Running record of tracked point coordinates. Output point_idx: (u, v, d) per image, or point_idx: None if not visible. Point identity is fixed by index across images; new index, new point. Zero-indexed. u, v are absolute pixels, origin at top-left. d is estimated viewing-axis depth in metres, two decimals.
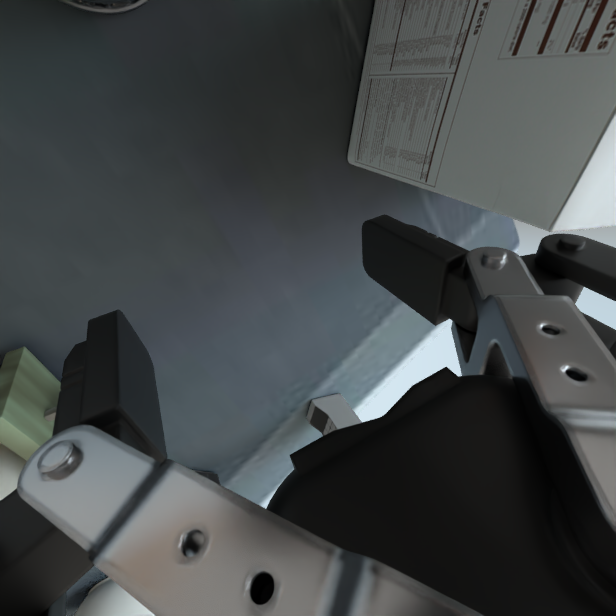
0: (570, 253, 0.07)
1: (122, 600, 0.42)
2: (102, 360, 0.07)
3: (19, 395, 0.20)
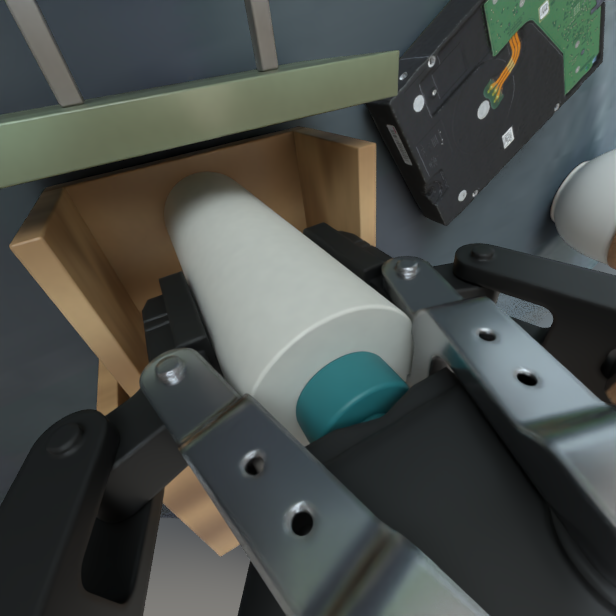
0: (479, 263, 0.08)
1: (609, 181, 0.27)
2: (181, 306, 0.08)
3: None
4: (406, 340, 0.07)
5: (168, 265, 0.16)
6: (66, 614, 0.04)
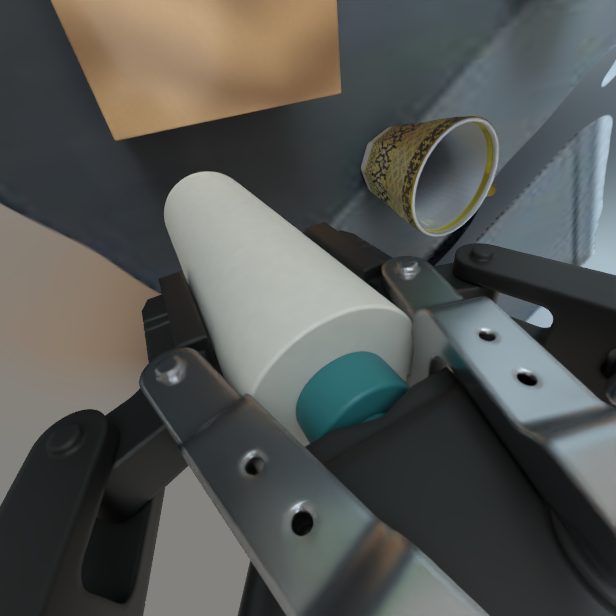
0: (478, 263, 0.08)
1: None
2: (181, 306, 0.08)
3: None
4: (406, 341, 0.07)
5: None
6: (66, 614, 0.04)
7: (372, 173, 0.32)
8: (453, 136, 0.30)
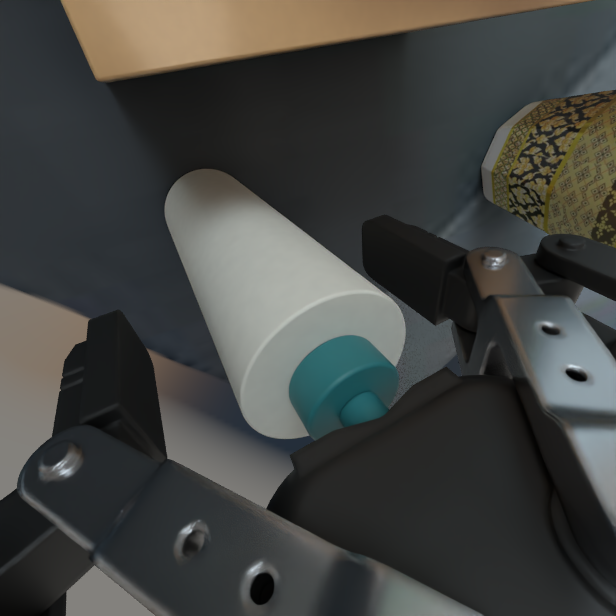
0: (570, 253, 0.07)
1: None
2: (102, 360, 0.07)
3: None
4: (394, 326, 0.07)
5: None
6: None
7: (512, 174, 0.20)
8: None
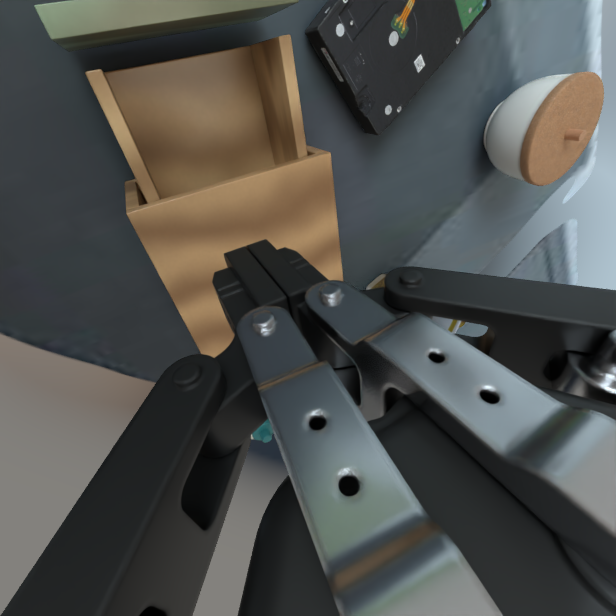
0: (404, 290, 0.07)
1: (517, 106, 0.34)
2: (254, 274, 0.09)
3: None
4: None
5: (169, 140, 0.24)
6: (167, 523, 0.05)
7: None
8: None
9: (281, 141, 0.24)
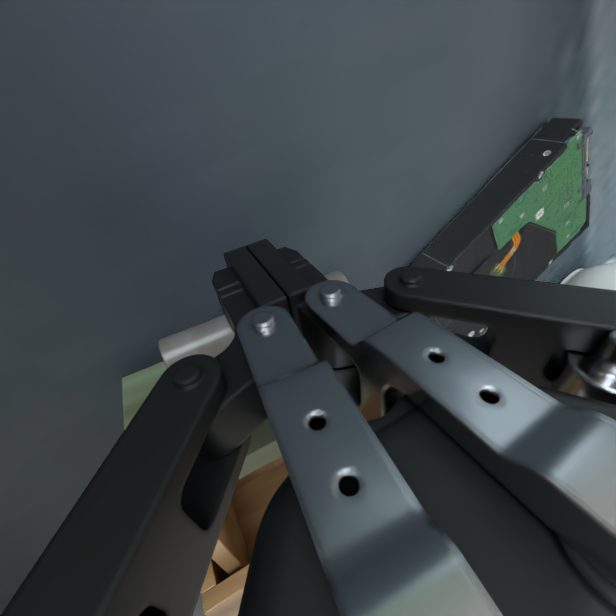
0: (404, 290, 0.07)
1: None
2: (254, 274, 0.09)
3: None
4: None
5: None
6: (167, 523, 0.05)
7: None
8: None
9: None
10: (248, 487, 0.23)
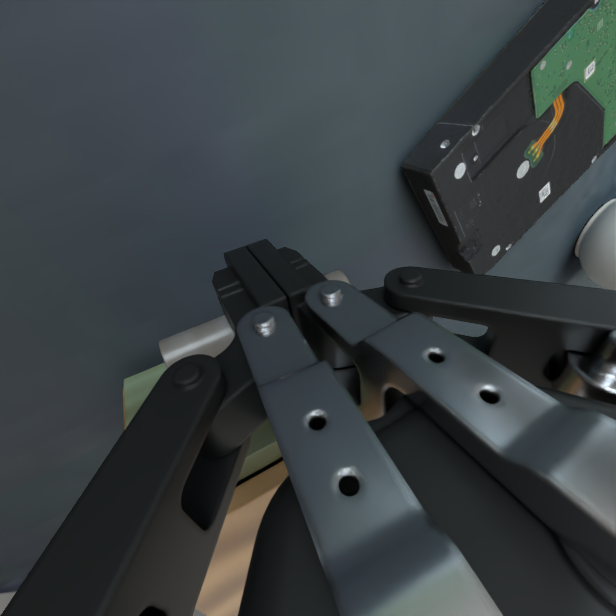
0: (404, 290, 0.07)
1: None
2: (254, 274, 0.09)
3: None
4: None
5: None
6: (167, 523, 0.05)
7: None
8: None
9: None
10: None
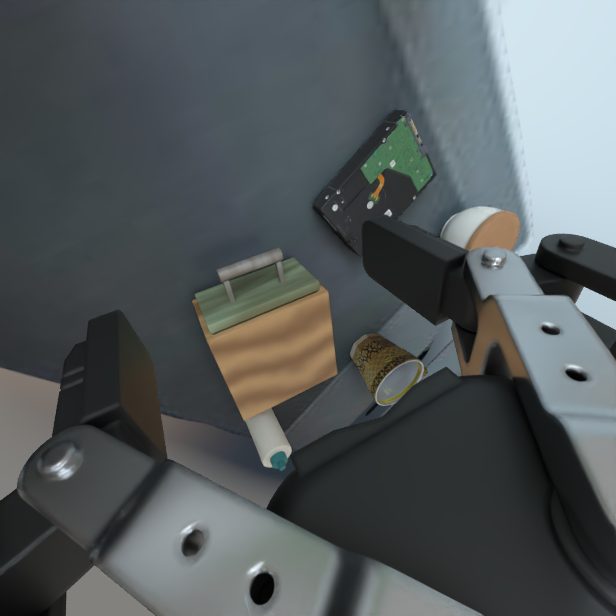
0: (570, 253, 0.07)
1: (459, 229, 0.47)
2: (102, 360, 0.07)
3: (209, 311, 0.34)
4: (288, 448, 0.43)
5: None
6: None
7: (356, 364, 0.56)
8: None
9: None
10: None
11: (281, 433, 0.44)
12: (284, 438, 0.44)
